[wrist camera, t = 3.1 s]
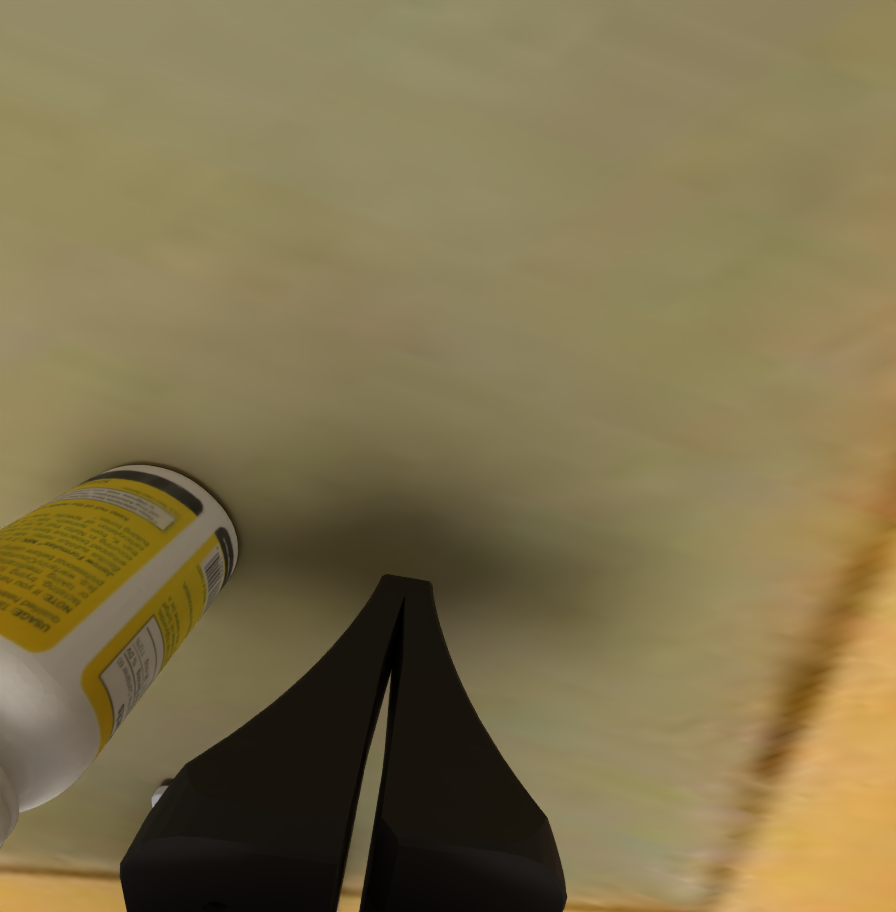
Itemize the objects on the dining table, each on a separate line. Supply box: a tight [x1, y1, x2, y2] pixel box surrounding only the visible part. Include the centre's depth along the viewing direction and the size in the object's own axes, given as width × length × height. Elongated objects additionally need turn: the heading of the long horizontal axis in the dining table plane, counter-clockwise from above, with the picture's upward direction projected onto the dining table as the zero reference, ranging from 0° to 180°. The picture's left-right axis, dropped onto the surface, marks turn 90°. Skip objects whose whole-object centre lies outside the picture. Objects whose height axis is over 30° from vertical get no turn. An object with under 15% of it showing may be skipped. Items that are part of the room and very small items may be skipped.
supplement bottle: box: [0, 465, 238, 848], centre depth 10 cm, size 5×5×8 cm
